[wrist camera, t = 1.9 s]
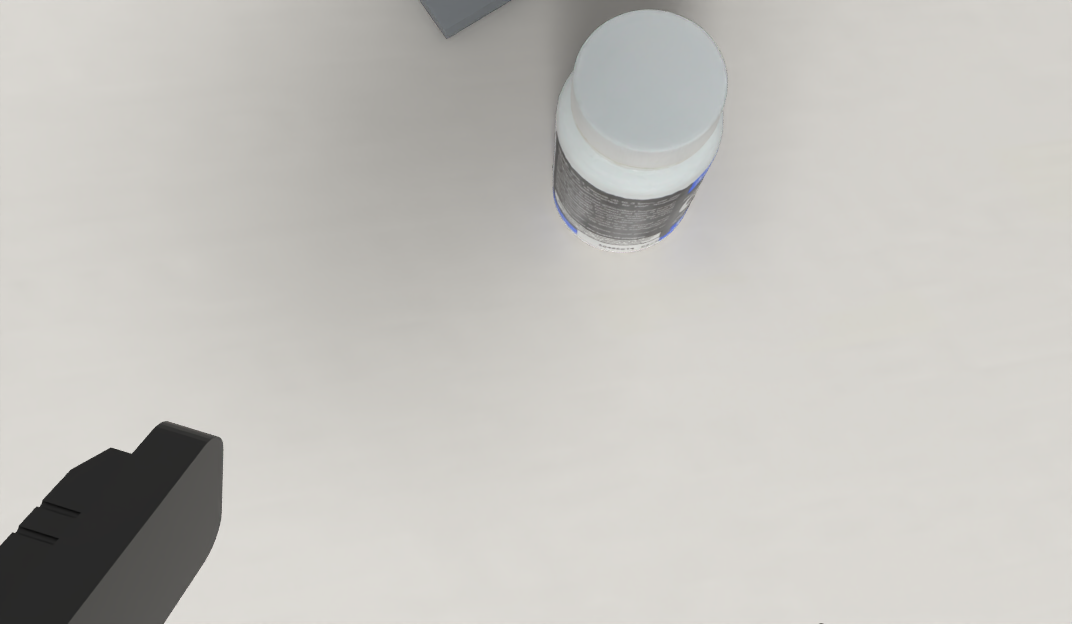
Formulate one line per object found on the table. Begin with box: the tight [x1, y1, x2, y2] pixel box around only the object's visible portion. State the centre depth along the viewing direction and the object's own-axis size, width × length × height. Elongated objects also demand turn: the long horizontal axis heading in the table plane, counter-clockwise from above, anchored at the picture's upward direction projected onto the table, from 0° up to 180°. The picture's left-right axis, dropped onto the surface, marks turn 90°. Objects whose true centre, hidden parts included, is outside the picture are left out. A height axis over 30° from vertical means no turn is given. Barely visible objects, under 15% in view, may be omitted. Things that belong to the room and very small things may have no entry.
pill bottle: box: [553, 9, 728, 252], centre depth 27 cm, size 5×5×8 cm
